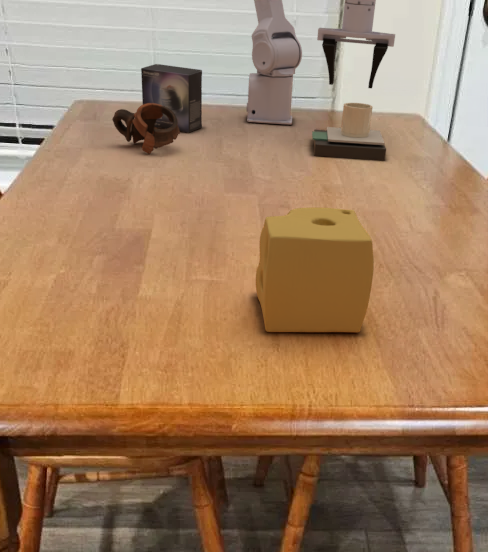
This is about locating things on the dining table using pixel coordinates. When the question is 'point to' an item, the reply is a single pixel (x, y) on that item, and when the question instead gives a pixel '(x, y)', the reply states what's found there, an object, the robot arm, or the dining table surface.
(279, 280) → the cheese
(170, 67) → the small box
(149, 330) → the dining table surface
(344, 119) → the small cup
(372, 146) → the scale
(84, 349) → the dining table surface
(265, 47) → the robot arm
